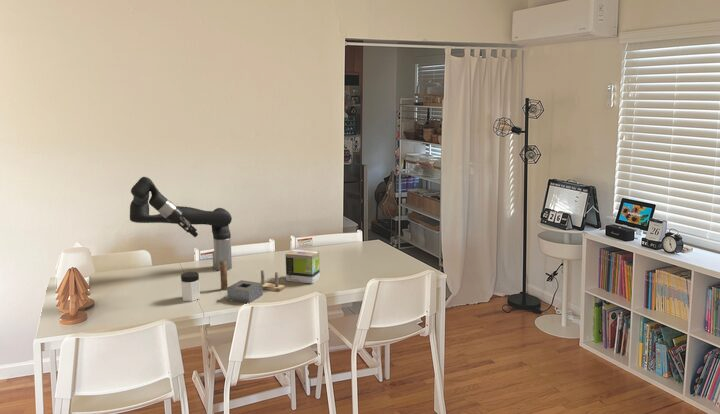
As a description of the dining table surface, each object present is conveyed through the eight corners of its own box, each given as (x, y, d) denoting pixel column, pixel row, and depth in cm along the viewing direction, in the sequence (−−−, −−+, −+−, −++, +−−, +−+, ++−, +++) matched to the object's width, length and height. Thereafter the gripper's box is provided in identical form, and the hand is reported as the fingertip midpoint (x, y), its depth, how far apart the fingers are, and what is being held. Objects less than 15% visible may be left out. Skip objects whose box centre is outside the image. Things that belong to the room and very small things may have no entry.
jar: (194, 294, 300) (192, 270, 297) (204, 297, 295) (202, 273, 292) (178, 299, 293) (176, 274, 290) (188, 303, 288) (186, 278, 285)
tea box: (320, 278, 323) (319, 251, 320) (312, 284, 314) (312, 256, 311) (294, 275, 328) (293, 248, 325) (285, 281, 319) (284, 253, 316)
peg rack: (255, 287, 308) (254, 271, 307) (260, 284, 313) (260, 268, 311) (279, 291, 303) (279, 275, 301) (284, 288, 308) (284, 272, 306)
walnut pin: (219, 289, 306) (218, 262, 303) (223, 287, 308) (222, 260, 306) (225, 290, 304) (224, 263, 301) (229, 288, 307) (227, 261, 304)
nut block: (227, 299, 292) (226, 287, 291) (241, 291, 303) (241, 280, 301) (249, 303, 287) (248, 291, 286) (262, 295, 298) (262, 283, 297)
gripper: (164, 214, 297) (189, 235, 303) (164, 220, 284) (191, 243, 290) (175, 202, 298) (200, 224, 304) (176, 208, 284) (202, 231, 290)
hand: (196, 233), depth 297 cm, fingers open, 8 cm apart
